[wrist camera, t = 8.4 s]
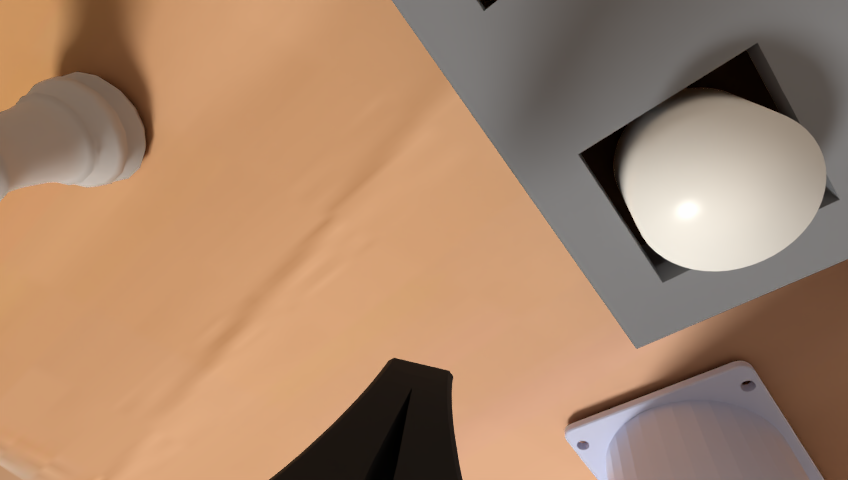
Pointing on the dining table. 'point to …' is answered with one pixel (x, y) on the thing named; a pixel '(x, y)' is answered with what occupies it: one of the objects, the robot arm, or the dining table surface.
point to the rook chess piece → (70, 135)
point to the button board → (630, 98)
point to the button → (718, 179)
